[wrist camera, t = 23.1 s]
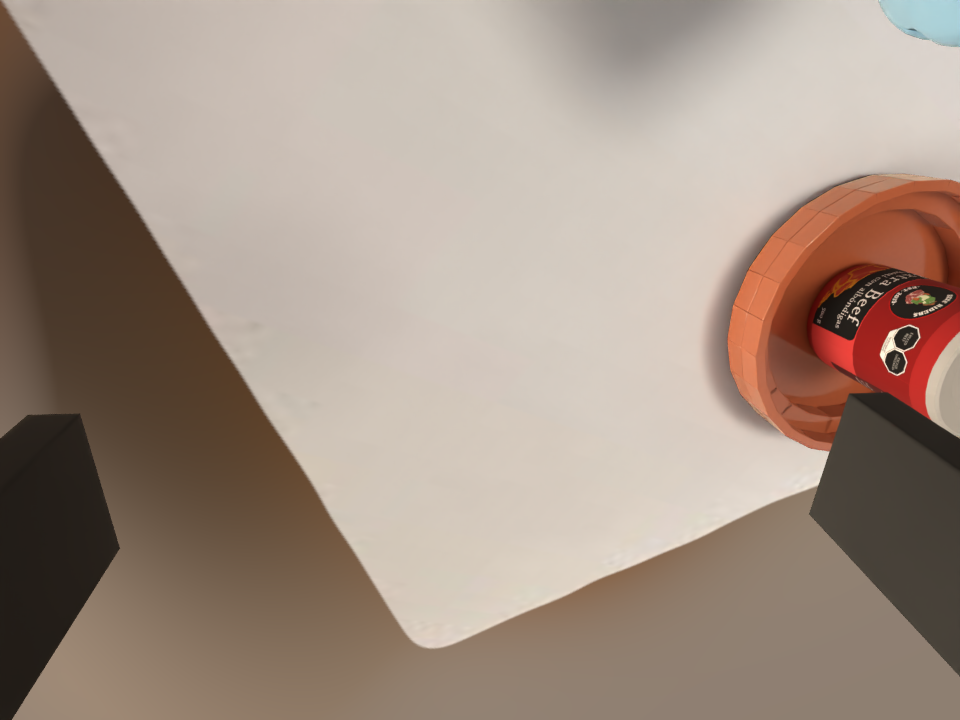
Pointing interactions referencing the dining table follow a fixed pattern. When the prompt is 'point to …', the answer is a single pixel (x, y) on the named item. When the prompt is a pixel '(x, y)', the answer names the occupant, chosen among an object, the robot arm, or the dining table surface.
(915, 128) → the dining table surface
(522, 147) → the dining table surface
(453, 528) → the dining table surface
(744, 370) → the bowl
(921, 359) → the canned food
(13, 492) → the robot arm
